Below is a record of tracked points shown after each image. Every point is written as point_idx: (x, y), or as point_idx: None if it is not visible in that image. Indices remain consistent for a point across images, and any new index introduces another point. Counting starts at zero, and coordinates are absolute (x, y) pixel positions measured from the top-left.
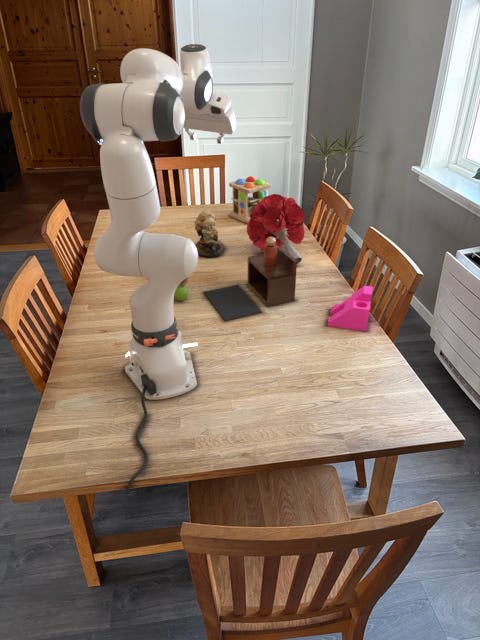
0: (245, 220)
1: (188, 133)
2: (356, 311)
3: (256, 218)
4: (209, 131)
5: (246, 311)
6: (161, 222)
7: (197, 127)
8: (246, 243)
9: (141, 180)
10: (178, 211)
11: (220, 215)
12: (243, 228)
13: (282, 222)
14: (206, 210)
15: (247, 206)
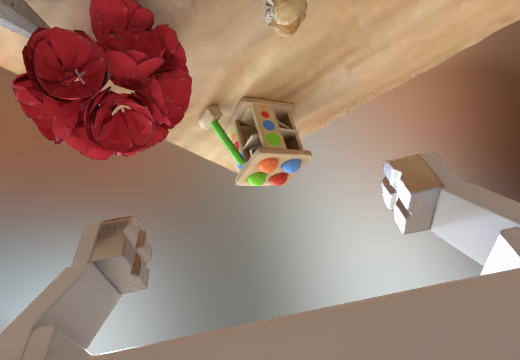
0: (252, 101)
1: (487, 198)
2: None
3: (139, 61)
4: (165, 345)
5: None
6: (418, 14)
7: (389, 352)
8: (193, 28)
9: None
10: (392, 70)
11: (309, 96)
12: (241, 79)
13: (25, 64)
14: (288, 17)
15: (256, 126)
